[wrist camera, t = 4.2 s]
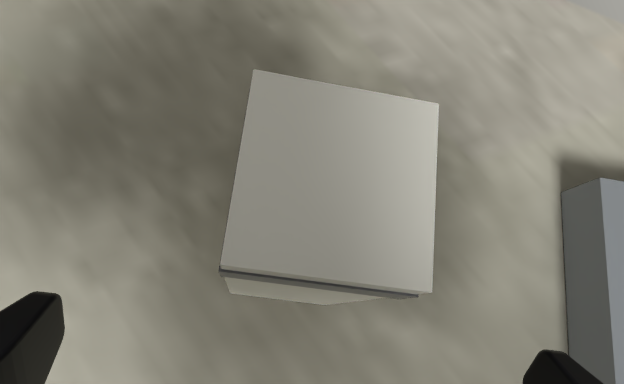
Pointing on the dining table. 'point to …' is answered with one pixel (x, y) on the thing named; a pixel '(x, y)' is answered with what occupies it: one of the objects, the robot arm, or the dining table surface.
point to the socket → (595, 276)
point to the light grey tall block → (331, 194)
